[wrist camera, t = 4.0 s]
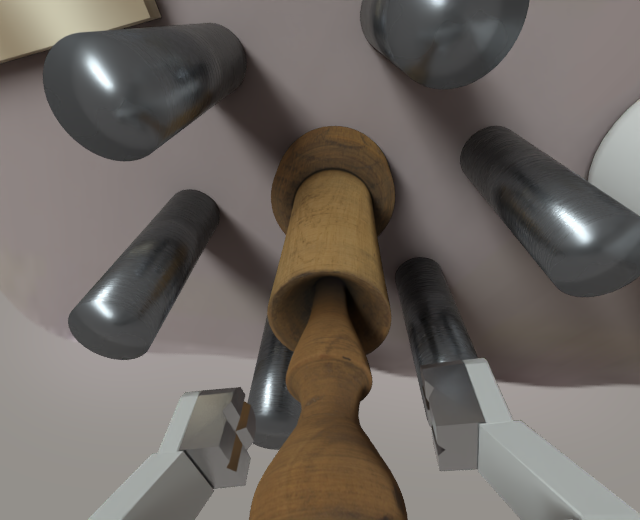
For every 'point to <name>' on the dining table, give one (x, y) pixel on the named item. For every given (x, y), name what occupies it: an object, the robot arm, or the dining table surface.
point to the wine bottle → (620, 161)
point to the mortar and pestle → (330, 328)
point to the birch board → (63, 21)
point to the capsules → (203, 215)
